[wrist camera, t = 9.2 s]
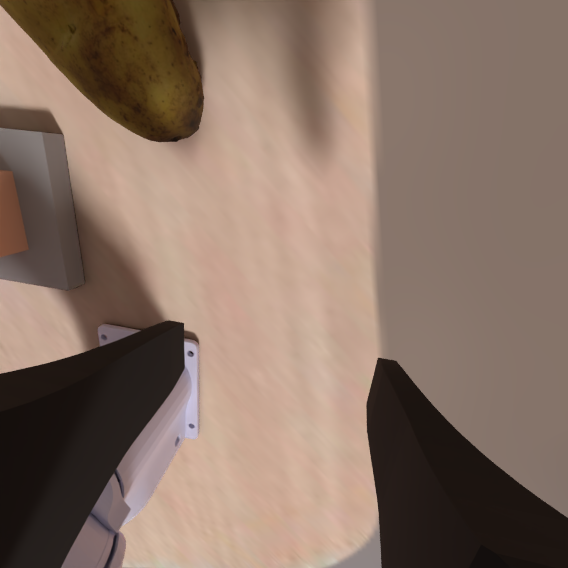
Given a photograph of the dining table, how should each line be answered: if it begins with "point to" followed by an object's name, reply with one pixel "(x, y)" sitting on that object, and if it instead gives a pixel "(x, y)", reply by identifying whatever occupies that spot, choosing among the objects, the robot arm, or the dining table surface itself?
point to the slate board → (42, 211)
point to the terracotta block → (10, 217)
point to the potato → (121, 59)
